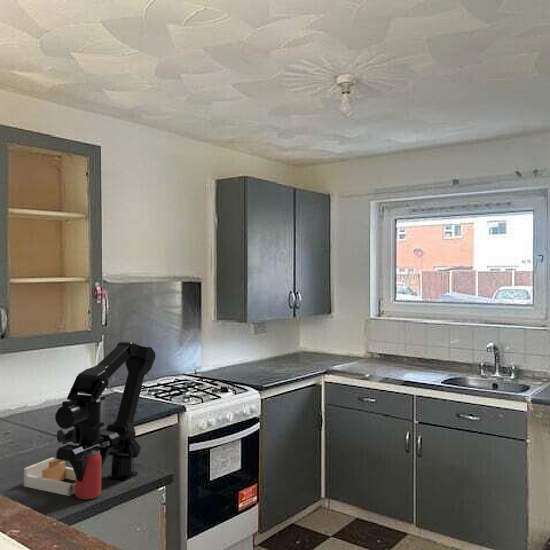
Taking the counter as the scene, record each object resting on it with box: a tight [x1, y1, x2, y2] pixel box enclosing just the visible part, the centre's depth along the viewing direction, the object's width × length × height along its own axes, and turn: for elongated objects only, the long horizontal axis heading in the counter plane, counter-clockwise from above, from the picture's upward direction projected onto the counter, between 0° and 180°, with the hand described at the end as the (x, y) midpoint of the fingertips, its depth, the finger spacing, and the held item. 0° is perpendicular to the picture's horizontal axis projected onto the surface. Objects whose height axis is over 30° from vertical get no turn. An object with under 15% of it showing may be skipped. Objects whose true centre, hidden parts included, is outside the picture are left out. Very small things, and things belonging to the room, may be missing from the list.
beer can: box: [74, 448, 103, 500], centre depth 153 cm, size 7×7×12 cm
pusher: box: [42, 458, 66, 482], centre depth 161 cm, size 8×1×6 cm, turn 158°
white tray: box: [23, 457, 76, 497], centre depth 160 cm, size 10×16×5 cm, turn 68°
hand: (88, 477), depth 153 cm, fingers closed on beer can, 7 cm apart
